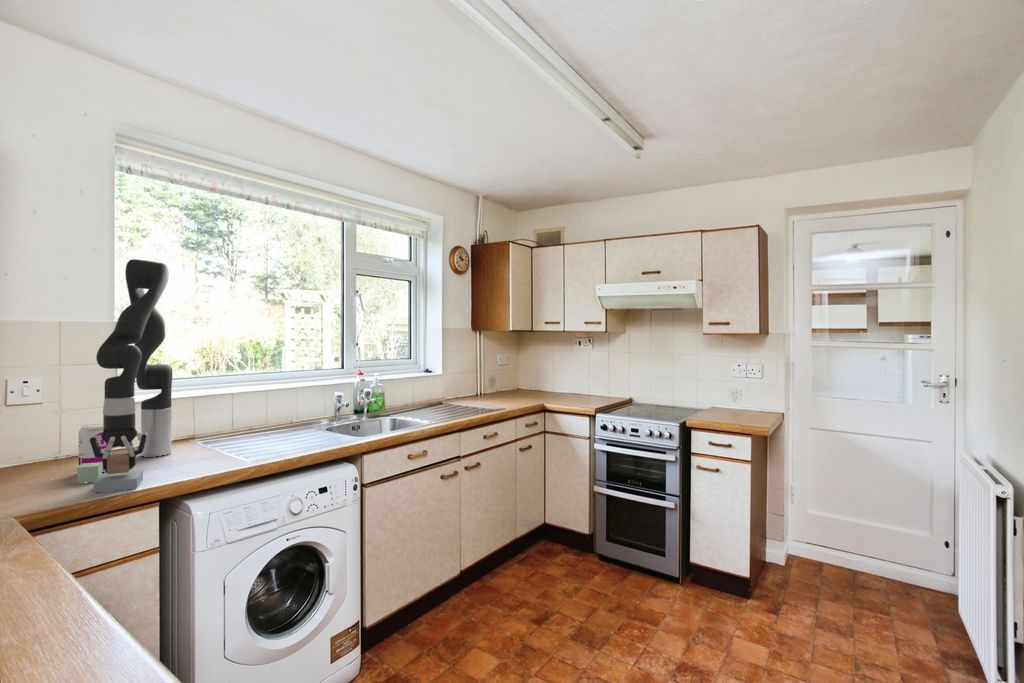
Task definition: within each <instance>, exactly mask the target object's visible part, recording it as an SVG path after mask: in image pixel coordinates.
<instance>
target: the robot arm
mask: <svg viewBox="0 0 1024 683" xmlns="http://www.w3.org/2000/svg"><path fill="white" fill-rule="evenodd" d="M124 271H125V272H124V273H125V282H126V287H127V292H128V296H129V302H130V304H129V305H128V306H127V307H126V308H125V309H124V310H123V311H122V312H121V313H120V315H119V316H118V319H117V321H116V325H115V327H114V329H113V331H112V332H111V334H110V335H108V337H107V338H106V339H105V341H104V342H103V343H102V344H101V345H100V346H99V349H98V351H97V353H96V356H95V357H96V358H95V359H96V362H97V364H98V366H100V367H101V368H103V369H107V370H109V369H110V370H111V369H113V370H115V369H117V370H122V369H123V370H122V372H121V374H120V375H117V376H111V377H108V378H106V379H105V381H104V401H103V410H102V416H103V419H102V420H103V423H102V424H103V433H102V435H99V436H93V437H91V438H90V443H91V446H92V449H93V452H94V456H95V457H100V458H102V459H103V469H104V470H105V469H106V471H107V457H108V456H109V455H110V453H112V450H113V448H118V447H121V448H125V449H126V452H128V453H129V455H130V457H129V469H131V470H133V469H134V468H135V467H136V464H137V455H140V456H141V457H142V456H144V457H143V458H157V457H156V456H158V457H163V456H162V455H164V456H168V455H170V454H171V453H172V389H173V388H172V386H173V367H172V366H171V365H170V364H148V362H149V360H150V358H151V356H152V355H153V354H154V353H155V352H156V351H157V349H158V348H159V347H160V346H161V345H162V343H163V342H164V340H165V338H166V325H165V324H166V323H165V319H164V317H163V315H162V314H161V313H160V312H159V310H158V309H157V308H156V305H157V303H159V300H160V298H161V296H162V295H163V293H164V291H165V290H166V287H167V285H168V282H169V276H170V275H169V274H170V273H169V272H170V271H169V268H168V266H167V264H165V263H163V262H159V261H151V260H145V259H136V258H135V259H130V260H129V261H127V263H126V265H125V270H124ZM144 289H145V290H147V291H146V292H145V290H144ZM135 382H136V385H137V387H138V389H139V390H144V391H145V390H146V391H149V390H150V391H151V390H153V391H154V390H160V391H161V392H160V393H159V394H157V395H155V396H153V397H150V398H145V399H143V400H142V401H141V402H140V432H138V431H137V429H136V400H135ZM136 437H137V440H138V441H140V442H139V444H138V447H137V449H135V446H134V443H133V441H134V439H135V438H136ZM101 439H103V440H104V441H105V442H106V443H107V447H106V449H105V452H104V453H103V452H101V449H100V446H99V443H100V442H101ZM167 454H168V455H167Z"/></svg>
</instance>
